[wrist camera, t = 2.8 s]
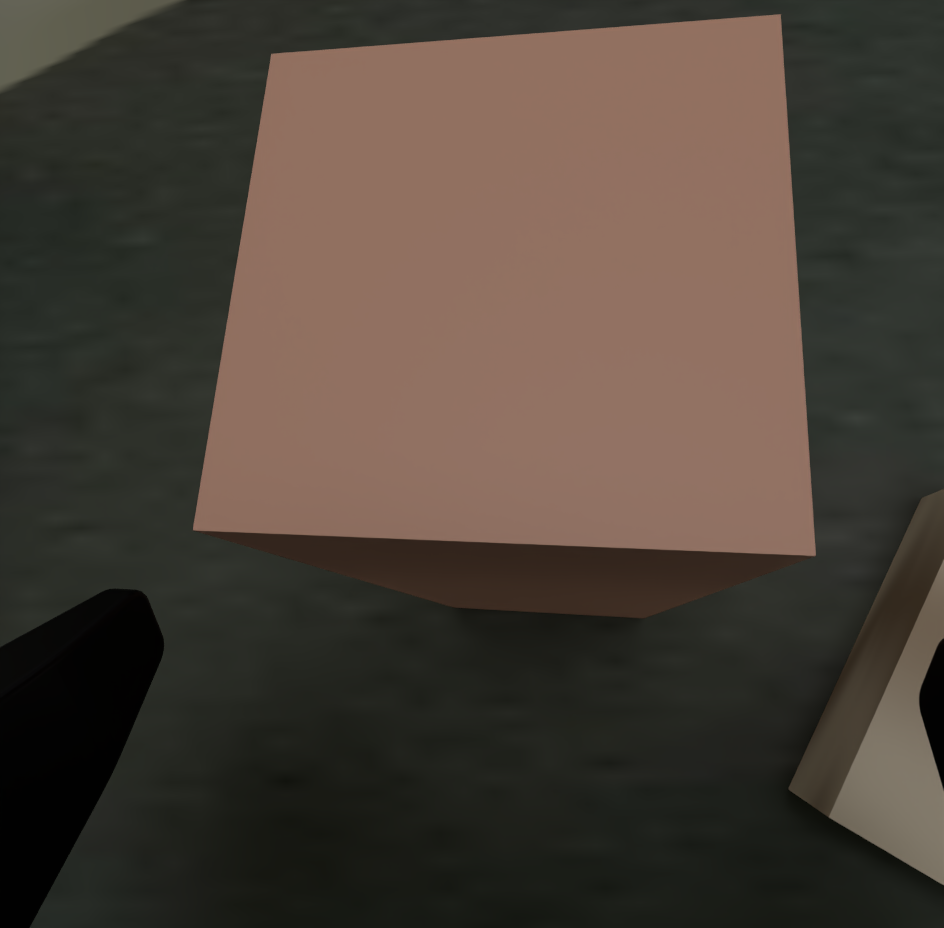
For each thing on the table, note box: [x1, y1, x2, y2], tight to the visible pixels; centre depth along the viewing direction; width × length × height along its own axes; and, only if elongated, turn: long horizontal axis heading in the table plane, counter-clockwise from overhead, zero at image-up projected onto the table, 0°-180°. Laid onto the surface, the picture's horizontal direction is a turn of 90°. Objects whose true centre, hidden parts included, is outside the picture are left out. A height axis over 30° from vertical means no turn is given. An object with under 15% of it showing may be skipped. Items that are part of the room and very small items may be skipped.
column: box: [193, 15, 816, 618], centre depth 12 cm, size 5×5×13 cm
